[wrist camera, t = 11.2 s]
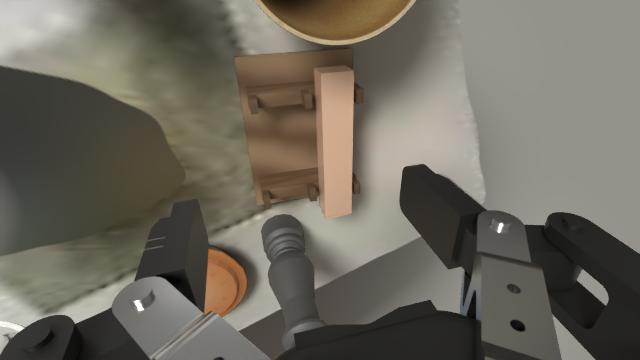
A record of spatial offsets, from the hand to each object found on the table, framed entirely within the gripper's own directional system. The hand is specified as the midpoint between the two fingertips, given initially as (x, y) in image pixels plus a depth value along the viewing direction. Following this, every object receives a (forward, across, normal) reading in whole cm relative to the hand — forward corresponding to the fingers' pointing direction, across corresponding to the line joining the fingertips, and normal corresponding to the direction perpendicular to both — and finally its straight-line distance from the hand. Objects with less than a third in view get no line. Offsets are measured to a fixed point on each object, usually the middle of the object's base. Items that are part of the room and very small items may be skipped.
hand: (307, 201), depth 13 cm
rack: (+30, -5, +9) cm, 32 cm away
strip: (+25, -8, +9) cm, 28 cm away
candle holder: (+30, -1, +25) cm, 39 cm away
